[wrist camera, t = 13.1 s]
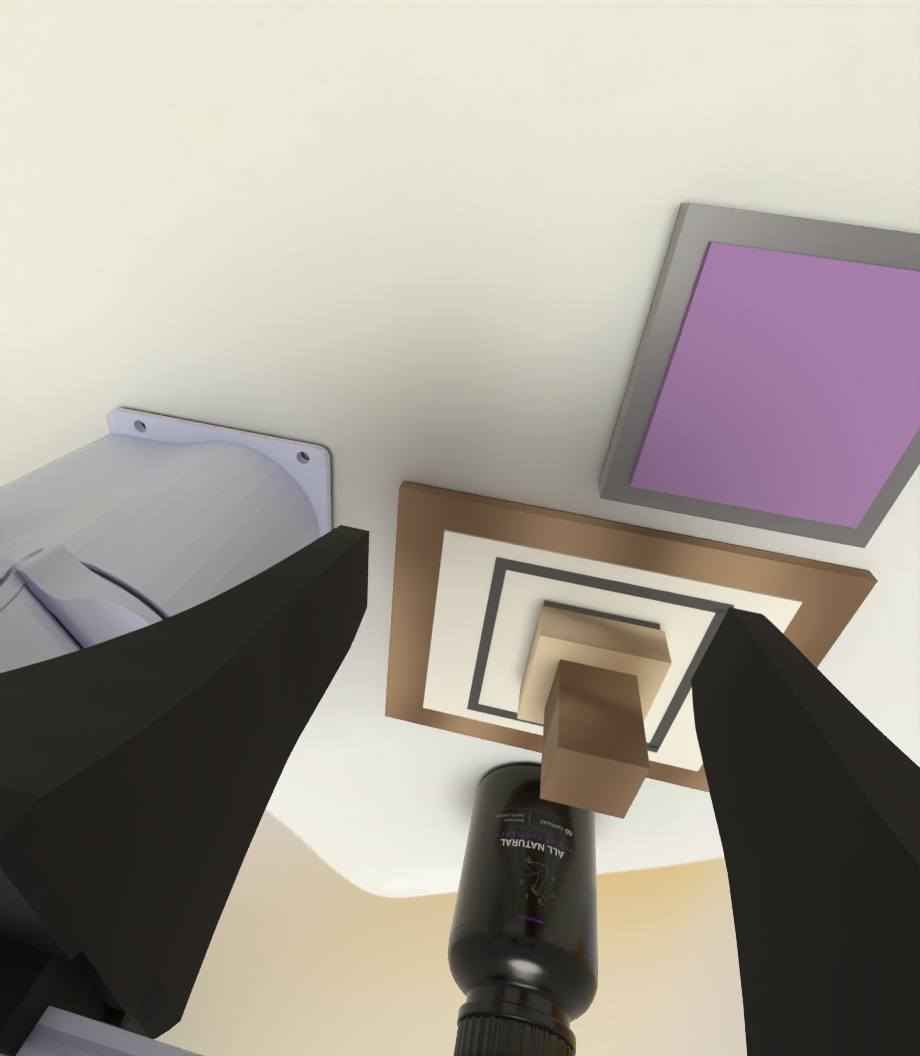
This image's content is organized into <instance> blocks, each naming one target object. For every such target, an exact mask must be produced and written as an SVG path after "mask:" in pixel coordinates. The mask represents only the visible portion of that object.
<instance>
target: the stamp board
mask: <svg viewBox="0 0 920 1056" xmlns="http://www.w3.org/2000/svg"><path fill="white" fill-rule="evenodd" d="M876 583H877V579H876V578H875V577H874V576H873V575H872V573H871V572H870V571H866V570H860V569H855V568H850V567H845V566H840V565H835V564H829V563H824V562H819V561H814V560H809V559H804V558H798V557H793V556H788V555H783V554H778V553H772V552H767V551H762V550H757V549H752V548H747V547H741V546H736V545H731V544H726V543H721V542H716V541H710V540H705V539H700V538H695V537H690V536H684V535H679V534H674V533H669V532H664V531H659V530H653V529H648V528H643V527H638V526H633V525H627V524H622V523H617V522H612V521H607V520H602V519H596V518H591V517H586V516H581V515H576V514H571V513H565V512H560V511H555V510H550V509H545V508H539V507H534V506H529V505H524V504H519V503H514V502H508V501H503V500H498V499H493V498H488V497H483V496H477V495H472V494H467V493H462V492H457V491H451V490H446V489H441V488H436V487H431V486H426V485H420V484H415V483H410V482H405V481H404V482H403V483H402V485H401V486H400V490H399V505H398V521H397V537H396V553H395V568H394V584H393V600H392V616H391V631H390V647H389V663H388V679H387V694H386V710H385V716H387V717H392V718H396V719H400V720H404V721H409V722H413V723H417V724H421V725H426V726H430V727H434V728H438V729H443V730H447V731H451V732H455V733H460V734H464V735H468V736H472V737H477V738H481V739H485V740H489V741H494V742H498V743H502V744H506V745H511V746H515V747H519V748H523V749H528V750H532V751H536V752H540V753H542V747H543V728H544V725H543V724H539V723H534V722H530V721H526V720H521V719H517V715H518V705H519V696H520V687H521V683H522V679H523V675H524V672H525V668H526V664H527V660H528V657H529V653H530V649H531V645H532V641H533V638H534V634H535V630H536V626H537V623H538V619H539V615H540V611H541V608H542V605H543V604H544V600H546V601H551V602H556V603H561V604H566V605H570V606H575V607H580V608H585V609H590V610H594V611H599V612H604V613H609V614H614V615H618V616H623V617H628V618H633V619H638V620H642V621H647V622H652V623H657V624H660V629H661V630H662V631H665V635H666V640H667V644H668V649H669V653H670V658H671V662H672V664H671V666H670V668H669V670H668V672H667V674H666V676H665V679H664V681H663V683H662V685H661V687H660V689H659V691H658V693H657V695H656V697H655V699H654V701H653V704H652V706H651V708H650V710H649V712H648V714H647V716H646V718H645V720H644V729H645V736H646V743H647V750H648V757H649V764H650V770H649V772H648V774H647V776H646V778H651V779H655V780H659V781H663V782H668V783H672V784H676V785H680V786H685V787H689V788H693V789H697V790H702V791H706V792H710V791H709V787H708V783H707V778H706V774H705V770H704V766H703V761H702V757H701V752H700V748H699V744H698V739H697V734H696V730H695V721H694V712H693V700H692V686H691V679H692V677H693V675H694V673H695V671H696V669H697V668H698V666H699V664H700V662H701V660H702V658H703V656H704V654H705V652H706V651H707V649H708V647H709V645H710V643H711V641H712V639H713V637H714V635H715V633H716V632H717V630H718V628H719V626H720V624H721V622H722V620H723V618H724V616H725V615H726V613H727V611H728V609H729V607H731V608H736V609H741V610H745V611H750V612H755V613H760V614H763V615H764V616H765V617H766V618H767V619H768V620H770V621H771V622H772V623H773V624H774V625H775V626H776V627H777V628H778V629H779V630H780V631H781V632H782V633H783V634H784V635H785V636H786V637H787V638H788V639H789V640H790V641H791V642H792V643H793V644H794V645H795V646H796V647H797V648H798V649H799V650H800V651H801V652H802V653H803V654H804V655H805V656H806V657H807V659H808V660H809V661H810V662H811V663H812V664H813V665H814V666H815V667H816V668H817V667H818V665H819V664H820V663H821V661H822V660H823V658H824V657H825V655H826V654H827V653H828V651H829V650H830V648H831V647H832V645H833V644H834V643H835V641H836V640H837V638H838V637H839V635H840V634H841V633H842V631H843V630H844V628H845V627H846V625H847V624H848V623H849V621H850V620H851V618H852V617H853V615H854V614H855V613H856V611H857V610H858V608H859V607H860V605H861V604H862V603H863V601H864V600H865V598H866V597H867V595H868V594H869V593H870V591H871V590H872V588H873V587H874V585H875V584H876Z"/></svg>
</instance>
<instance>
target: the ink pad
mask: <svg viewBox="0 0 920 1056" xmlns="http://www.w3.org/2000/svg"><path fill="white" fill-rule="evenodd" d="M919 464H920V234H915V233H907V232H900V231H893V230H885V229H878V228H871V227H864V226H856V225H849V224H842V223H834V222H827V221H820V220H812V219H805V218H798V217H790V216H783V215H776V214H769V213H761V212H754V211H747V210H739V209H732V208H725V207H717V206H710V205H703V204H695V203H682V204H681V207H680V211H679V214H678V217H677V221H676V224H675V228H674V231H673V234H672V238H671V241H670V245H669V248H668V251H667V255H666V258H665V261H664V265H663V268H662V272H661V275H660V278H659V282H658V285H657V289H656V292H655V295H654V299H653V302H652V305H651V309H650V312H649V316H648V319H647V322H646V326H645V329H644V333H643V336H642V339H641V343H640V346H639V349H638V353H637V356H636V360H635V363H634V366H633V370H632V373H631V377H630V380H629V383H628V387H627V390H626V393H625V397H624V400H623V404H622V407H621V410H620V414H619V417H618V421H617V424H616V427H615V431H614V434H613V437H612V441H611V444H610V448H609V451H608V454H607V458H606V461H605V465H604V468H603V471H602V475H601V478H600V481H599V489H600V498H603V499H608V500H613V501H619V502H624V503H629V504H634V505H640V506H645V507H650V508H655V509H661V510H666V511H671V512H677V513H682V514H687V515H692V516H698V517H703V518H708V519H713V520H719V521H724V522H729V523H735V524H740V525H745V526H750V527H756V528H761V529H766V530H772V531H777V532H782V533H787V534H793V535H798V536H803V537H808V538H814V539H819V540H824V541H830V542H835V543H840V544H845V545H851V546H856V547H861V548H865V546H866V545H867V543H868V542H869V540H870V539H871V537H872V536H873V534H874V533H875V531H876V530H877V528H878V527H879V525H880V523H881V522H882V520H883V519H884V517H885V516H886V514H887V513H888V511H889V510H890V508H891V507H892V505H893V504H894V502H895V501H896V499H897V498H898V496H899V494H900V493H901V491H902V490H903V488H904V487H905V485H906V484H907V482H908V481H909V479H910V478H911V476H912V475H913V473H914V472H915V470H916V468H917V467H918V465H919Z"/></svg>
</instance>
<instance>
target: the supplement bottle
mask: <svg viewBox="0 0 920 1056" xmlns="http://www.w3.org/2000/svg"><path fill="white" fill-rule="evenodd" d="M540 784H541V766H535V765H512V766H506V767H503V768H500V769H498V770H495V771H493V772H492V773H490V774H489V775H488V776H486V777H485V778H484V779H483V781H482V782H481V783H480V785H479V787H478V790H477V793H476V797H475V802H474V807H473V812H472V818H471V823H470V829H469V834H468V840H467V845H466V851H465V856H464V862H463V867H462V873H461V878H460V884H459V889H458V895H457V901H456V906H455V911H454V917H453V922H452V928H451V933H450V940H449V947H448V960H449V966H450V970H451V973H452V976H453V978H454V979H455V982H456V983H457V985H458V986H459V988H460V989H461V990H462V992H463V993H464V994H465V995H466V996H467V1001H466V1003H465V1004H463V1005H462V1006H461V1007H460V1009H459V1015H458V1021H457V1025H458V1031H457V1038H456V1045H455V1051H454V1056H575V1054H576V1038H575V1035H574V1033H573V1032H572V1031H571V1030H570V1028H569V1026H570V1024H569V1023H570V1022H571V1021H573V1020H575V1019H577V1018H578V1017H580V1016H581V1015H583V1014H584V1013H585V1012H586V1011H587V1009H588V1008H589V1007H590V1005H591V1003H592V1002H593V999H594V997H595V995H596V991H597V985H598V984H597V983H598V949H597V948H598V947H597V899H596V850H595V817H594V811H590V810H586V809H582V808H578V807H573V806H569V805H565V804H561V803H557V802H553V801H549V800H545V799H540Z"/></svg>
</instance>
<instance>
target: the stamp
mask: <svg viewBox="0 0 920 1056" xmlns="http://www.w3.org/2000/svg"><path fill="white" fill-rule="evenodd" d="M671 664H672V662H671V658H670V653H669V649H668V644H667V640H666V635H665V631H662V630H661V629H660V624H657V623H652V622H647V621H642V620H638V619H633V618H628V617H623V616H618V615H614V614H609V613H604V612H599V611H594V610H590V609H585V608H580V607H575V606H570V605H566V604H561V603H556V602H551V601H546V600H544V604H543V605H542V608H541V611H540V615H539V619H538V623H537V626H536V630H535V634H534V638H533V641H532V645H531V649H530V653H529V657H528V660H527V664H526V668H525V672H524V675H523V679H522V683H521V687H520V696H519V705H518V715H517V719H521V720H526V721H530V722H534V723H539V724H543V725H544V728H543V747H542V765H541V784H540V799H545V800H549V801H553V802H557V803H561V804H565V805H569V806H573V807H578V808H582V809H586V810H590V811H594V812H598V813H602V814H606V815H611V816H615V817H619V818H623V819H624V817H625V815H626V813H627V811H628V810H629V808H630V806H631V804H632V802H633V800H634V798H635V796H636V795H637V793H638V791H639V789H640V787H641V785H642V783H643V781H644V779H645V778H646V776H647V774H648V772H649V770H650V764H649V757H648V750H647V743H646V736H645V729H644V720H645V718H646V716H647V714H648V712H649V710H650V708H651V706H652V704H653V701H654V699H655V697H656V695H657V693H658V691H659V689H660V687H661V685H662V683H663V681H664V679H665V676H666V674H667V672H668V670H669V668H670V666H671Z"/></svg>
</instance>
